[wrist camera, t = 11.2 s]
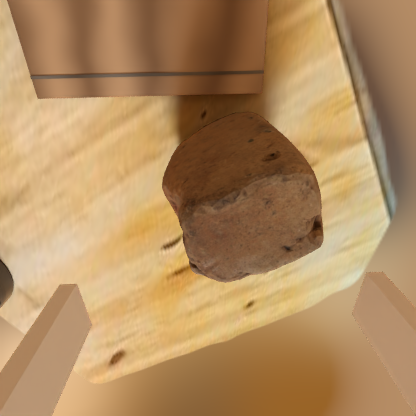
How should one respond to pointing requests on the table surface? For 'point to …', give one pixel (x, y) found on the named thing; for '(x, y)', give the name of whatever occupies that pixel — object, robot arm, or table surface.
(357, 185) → the table surface
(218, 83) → the board
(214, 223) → the brown pitted rock
